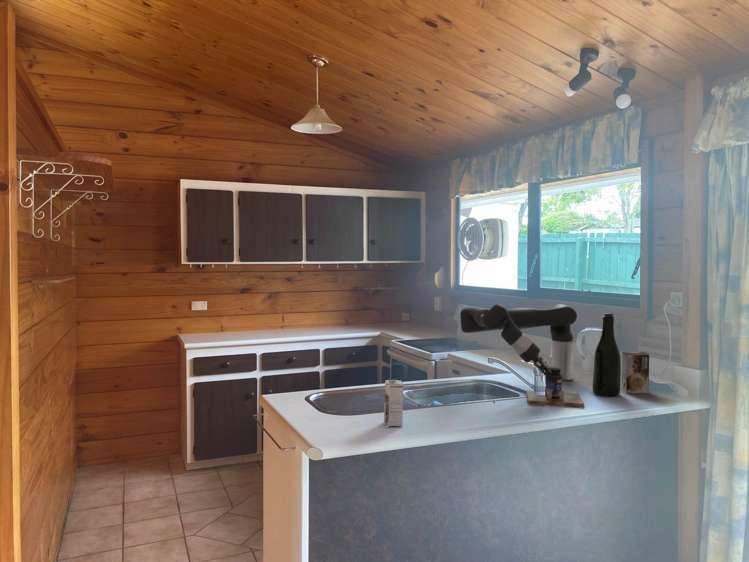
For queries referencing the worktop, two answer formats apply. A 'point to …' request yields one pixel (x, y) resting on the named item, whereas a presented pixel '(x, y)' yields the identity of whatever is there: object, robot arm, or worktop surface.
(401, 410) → the syrup box
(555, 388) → the pill bottle
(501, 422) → the worktop surface
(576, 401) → the pin tray
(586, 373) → the worktop surface
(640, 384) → the coffee box
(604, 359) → the dark green wine bottle
